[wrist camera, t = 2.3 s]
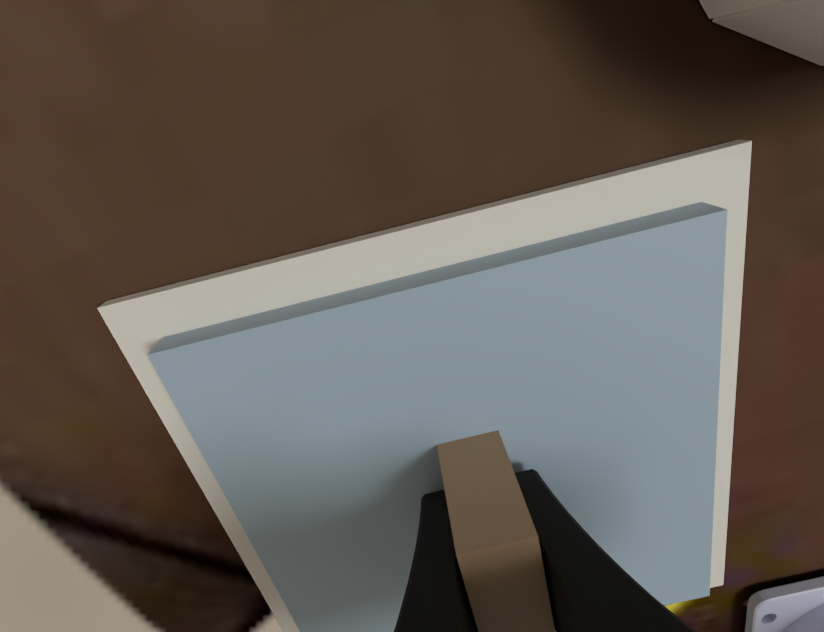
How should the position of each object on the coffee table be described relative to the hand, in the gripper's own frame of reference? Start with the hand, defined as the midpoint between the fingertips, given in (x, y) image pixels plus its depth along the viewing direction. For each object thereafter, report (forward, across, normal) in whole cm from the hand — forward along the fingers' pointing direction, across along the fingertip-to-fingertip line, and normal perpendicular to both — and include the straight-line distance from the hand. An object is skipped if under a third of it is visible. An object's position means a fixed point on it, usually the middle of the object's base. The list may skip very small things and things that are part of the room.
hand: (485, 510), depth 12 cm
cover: (+1, 0, 0) cm, 1 cm away
